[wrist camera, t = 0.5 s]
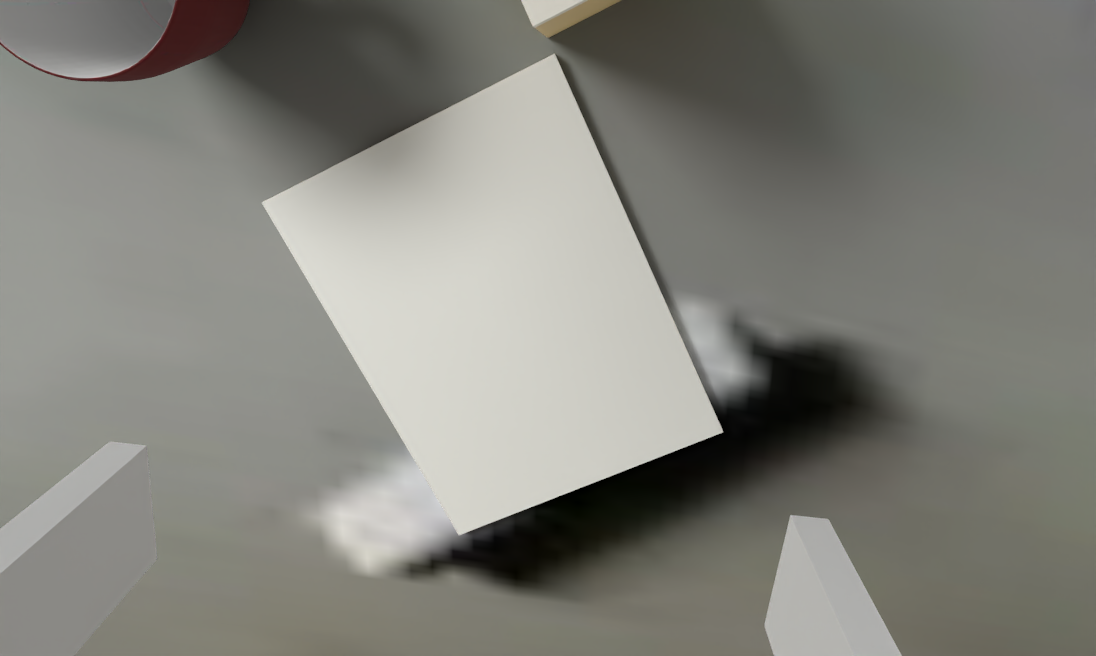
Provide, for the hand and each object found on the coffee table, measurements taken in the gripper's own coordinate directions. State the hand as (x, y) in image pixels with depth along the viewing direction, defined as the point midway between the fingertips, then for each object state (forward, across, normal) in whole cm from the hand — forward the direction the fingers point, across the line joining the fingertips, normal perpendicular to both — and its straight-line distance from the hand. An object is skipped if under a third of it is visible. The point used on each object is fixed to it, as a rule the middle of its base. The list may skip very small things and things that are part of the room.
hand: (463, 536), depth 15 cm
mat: (+24, -1, -4) cm, 24 cm away
